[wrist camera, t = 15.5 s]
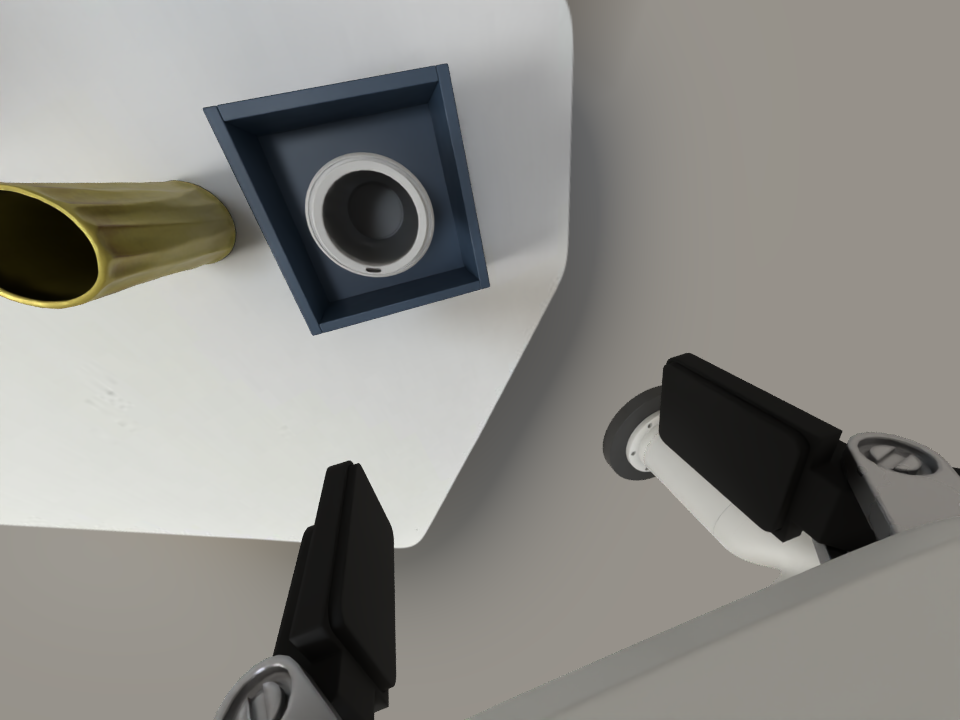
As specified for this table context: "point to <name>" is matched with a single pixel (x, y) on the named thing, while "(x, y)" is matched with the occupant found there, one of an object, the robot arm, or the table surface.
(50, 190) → the vase
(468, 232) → the bin
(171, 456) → the table surface
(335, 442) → the table surface
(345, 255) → the cup
